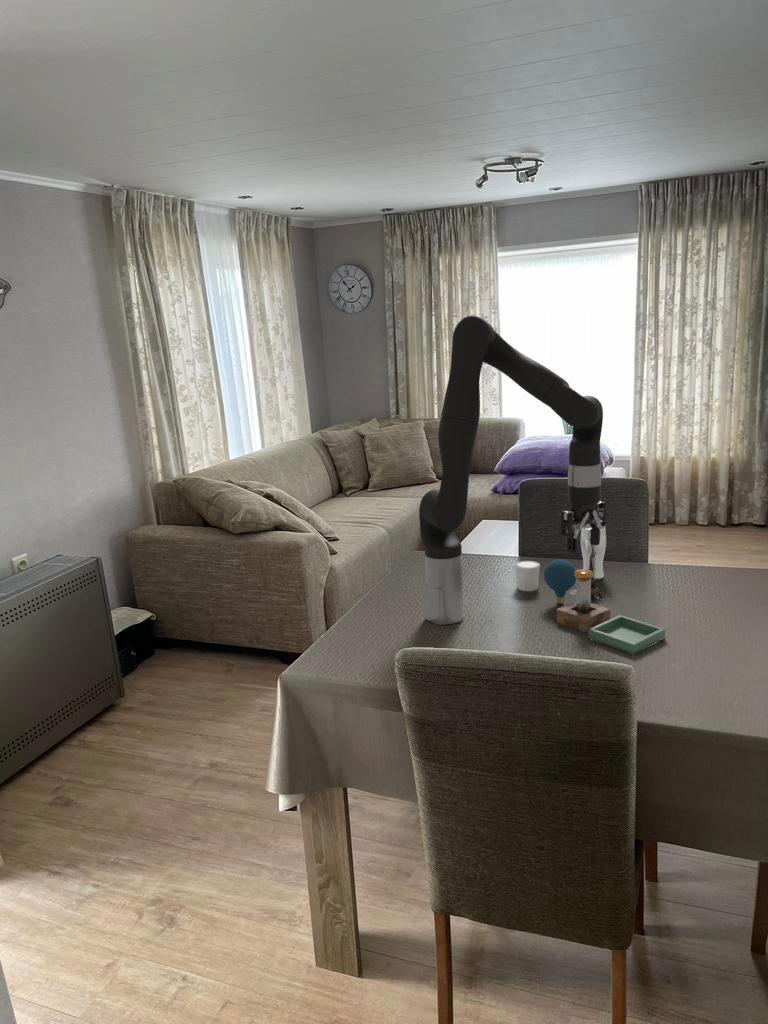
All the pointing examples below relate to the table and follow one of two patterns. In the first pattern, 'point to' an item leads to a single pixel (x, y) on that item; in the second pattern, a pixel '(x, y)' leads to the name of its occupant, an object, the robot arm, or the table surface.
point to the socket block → (582, 616)
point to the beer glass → (593, 551)
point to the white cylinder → (527, 575)
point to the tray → (626, 634)
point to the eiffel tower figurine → (592, 587)
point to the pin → (583, 590)
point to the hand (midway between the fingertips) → (583, 548)
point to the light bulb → (560, 577)
